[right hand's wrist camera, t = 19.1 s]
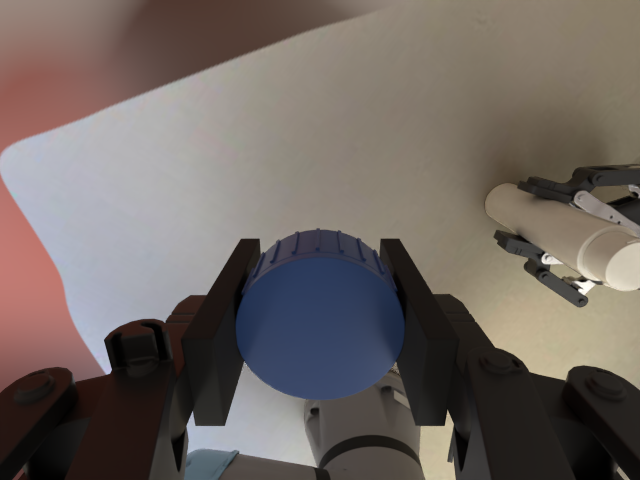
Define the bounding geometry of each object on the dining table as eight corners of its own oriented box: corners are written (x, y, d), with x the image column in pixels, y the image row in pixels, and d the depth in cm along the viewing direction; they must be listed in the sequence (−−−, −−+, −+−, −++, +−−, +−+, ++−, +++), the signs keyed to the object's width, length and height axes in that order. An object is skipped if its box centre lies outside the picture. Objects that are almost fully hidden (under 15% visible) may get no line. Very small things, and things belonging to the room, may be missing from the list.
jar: (526, 213, 37) (669, 285, 22) (488, 225, 37) (602, 304, 22) (520, 177, 35) (669, 227, 20) (481, 190, 36) (597, 248, 21)
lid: (217, 276, 12) (195, 312, 10) (344, 197, 11) (349, 219, 9) (300, 374, 13) (296, 424, 11) (418, 314, 12) (438, 356, 10)
